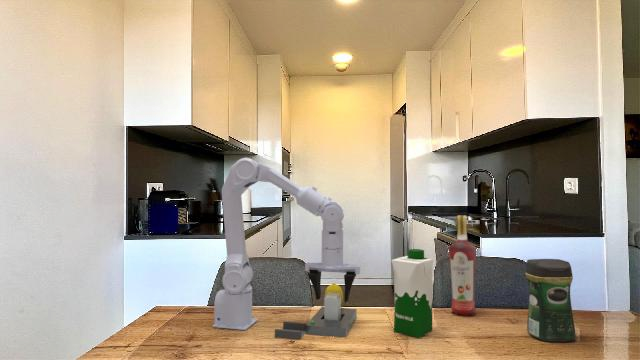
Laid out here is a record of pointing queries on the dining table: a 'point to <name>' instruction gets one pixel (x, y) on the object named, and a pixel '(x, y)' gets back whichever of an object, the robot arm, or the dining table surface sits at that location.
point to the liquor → (462, 271)
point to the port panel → (331, 324)
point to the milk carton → (413, 294)
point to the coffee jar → (550, 300)
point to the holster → (291, 330)
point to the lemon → (334, 290)
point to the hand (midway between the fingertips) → (332, 299)
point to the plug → (332, 306)
